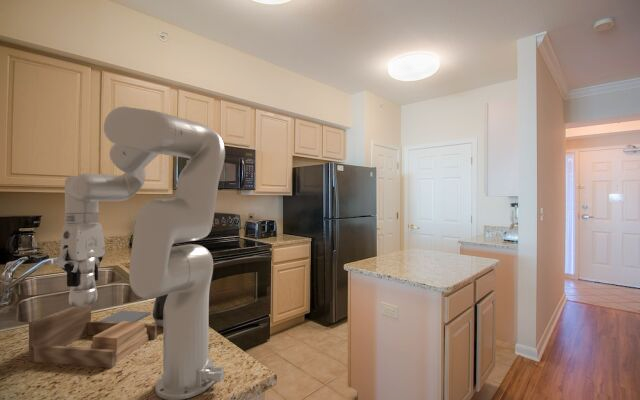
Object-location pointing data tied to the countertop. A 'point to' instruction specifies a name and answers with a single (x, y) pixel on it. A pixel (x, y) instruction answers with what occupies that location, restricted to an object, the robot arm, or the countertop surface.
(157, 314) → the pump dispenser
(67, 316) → the rack
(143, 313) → the mat
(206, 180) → the robot arm
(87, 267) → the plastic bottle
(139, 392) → the countertop surface
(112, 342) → the offcut stack
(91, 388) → the countertop surface
